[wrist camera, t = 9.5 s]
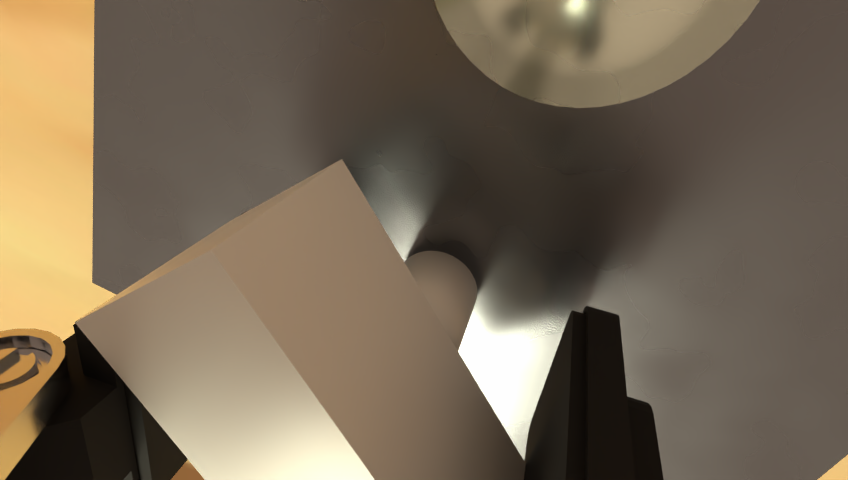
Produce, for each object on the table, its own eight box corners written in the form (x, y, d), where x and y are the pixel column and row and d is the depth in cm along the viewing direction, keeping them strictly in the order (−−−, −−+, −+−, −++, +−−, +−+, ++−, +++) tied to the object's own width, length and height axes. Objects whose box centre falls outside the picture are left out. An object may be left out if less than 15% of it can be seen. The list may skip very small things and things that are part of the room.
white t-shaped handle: (308, 169, 11) (50, 336, 6) (400, 118, 10) (189, 264, 5) (464, 419, 13) (378, 721, 7) (556, 398, 12) (530, 731, 6)
